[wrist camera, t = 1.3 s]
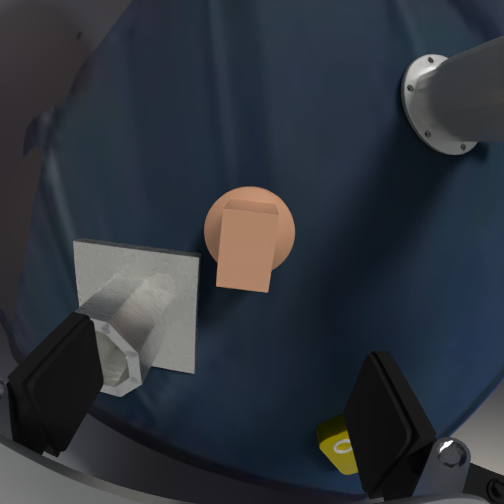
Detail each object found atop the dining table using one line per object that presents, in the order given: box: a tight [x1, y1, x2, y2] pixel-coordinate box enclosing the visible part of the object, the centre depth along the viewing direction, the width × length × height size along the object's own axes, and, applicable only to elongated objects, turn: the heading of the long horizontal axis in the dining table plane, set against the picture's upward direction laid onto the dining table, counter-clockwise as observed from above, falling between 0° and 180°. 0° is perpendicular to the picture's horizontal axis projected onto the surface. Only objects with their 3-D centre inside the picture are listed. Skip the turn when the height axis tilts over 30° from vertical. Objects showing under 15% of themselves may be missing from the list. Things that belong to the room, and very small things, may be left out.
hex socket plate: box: [73, 238, 202, 397], centre depth 30 cm, size 16×16×12 cm
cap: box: [204, 186, 295, 292], centre depth 27 cm, size 8×8×10 cm
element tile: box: [316, 413, 358, 475], centre depth 40 cm, size 15×15×5 cm
